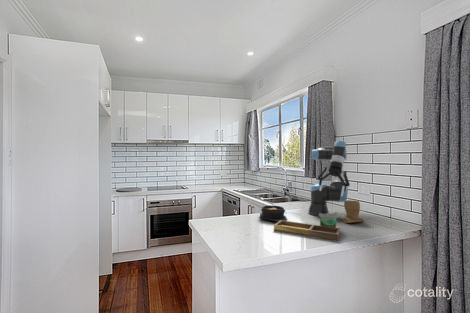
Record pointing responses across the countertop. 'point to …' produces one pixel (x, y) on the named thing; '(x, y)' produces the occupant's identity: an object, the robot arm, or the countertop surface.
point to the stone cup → (352, 211)
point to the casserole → (273, 213)
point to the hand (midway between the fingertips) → (331, 193)
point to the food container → (328, 219)
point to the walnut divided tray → (308, 230)
